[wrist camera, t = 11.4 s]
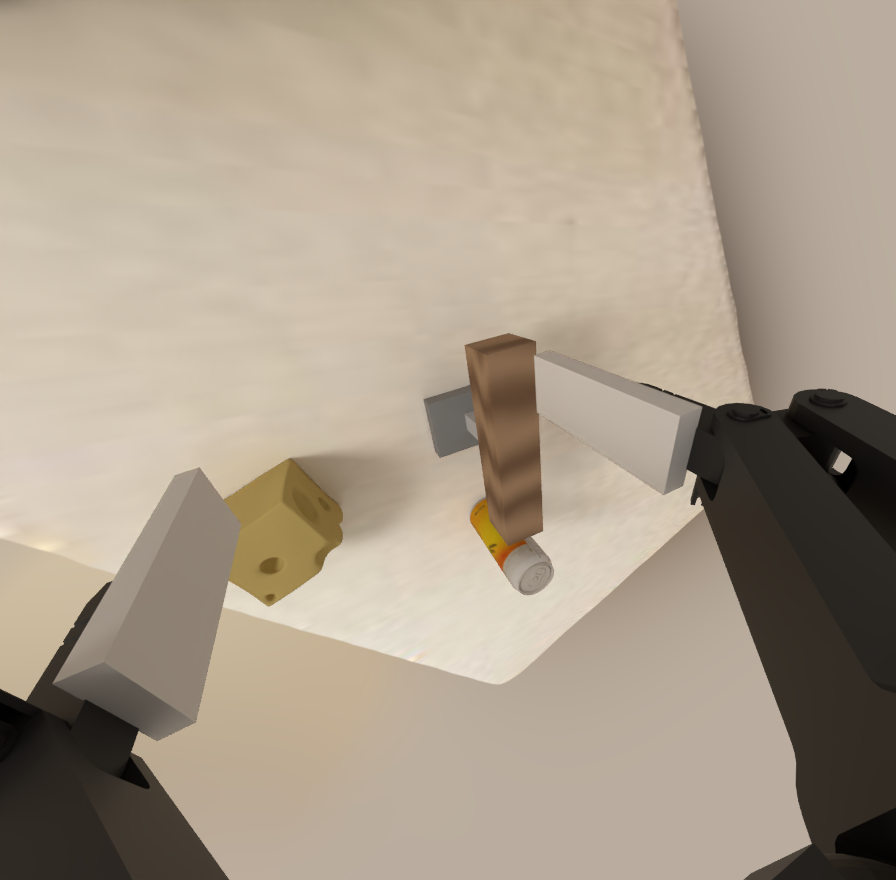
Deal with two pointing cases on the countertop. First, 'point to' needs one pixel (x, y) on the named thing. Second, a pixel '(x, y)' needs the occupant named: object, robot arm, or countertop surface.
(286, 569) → the cheese
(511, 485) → the walnut bar
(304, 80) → the countertop surface
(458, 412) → the fulcrum
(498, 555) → the beer can
